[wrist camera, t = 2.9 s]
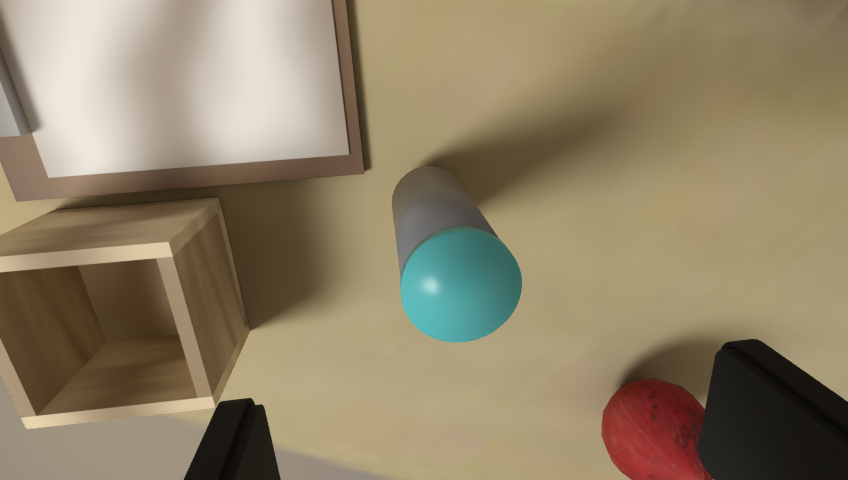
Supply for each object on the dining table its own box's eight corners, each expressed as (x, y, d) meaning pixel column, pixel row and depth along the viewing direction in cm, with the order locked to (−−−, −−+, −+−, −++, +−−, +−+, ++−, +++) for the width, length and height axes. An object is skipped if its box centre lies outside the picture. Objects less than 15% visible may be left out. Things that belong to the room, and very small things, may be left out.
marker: (461, 157, 23) (523, 227, 14) (463, 226, 25) (520, 335, 15) (387, 163, 23) (396, 239, 13) (393, 232, 24) (405, 348, 15)
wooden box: (218, 196, 23) (168, 241, 17) (249, 331, 26) (215, 407, 20) (53, 210, 22) (-55, 261, 17) (103, 346, 25) (26, 428, 19)
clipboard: (332, -124, 18) (330, -136, 17) (364, 171, 23) (363, 177, 22) (-99, -110, 17) (-132, -121, 16) (22, 199, 22) (3, 206, 21)
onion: (607, 342, 28) (690, 443, 21) (684, 364, 29) (788, 467, 22) (565, 415, 30) (628, 532, 23) (639, 433, 31) (722, 550, 24)
